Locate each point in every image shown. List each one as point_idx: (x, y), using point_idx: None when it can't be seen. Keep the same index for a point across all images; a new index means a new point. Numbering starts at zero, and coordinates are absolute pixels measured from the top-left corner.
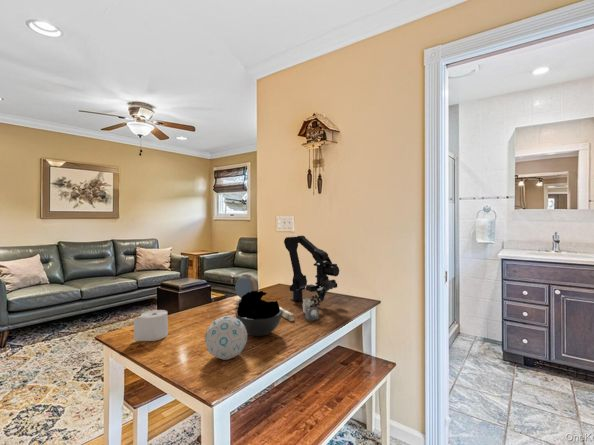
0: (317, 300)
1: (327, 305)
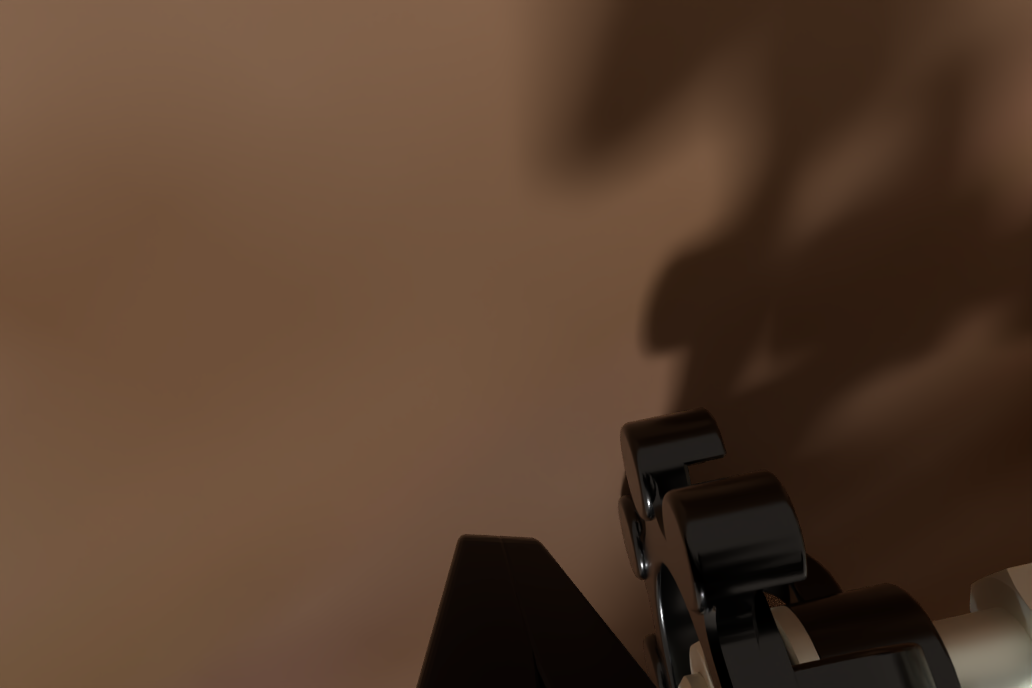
0: (851, 654)
1: (108, 328)
